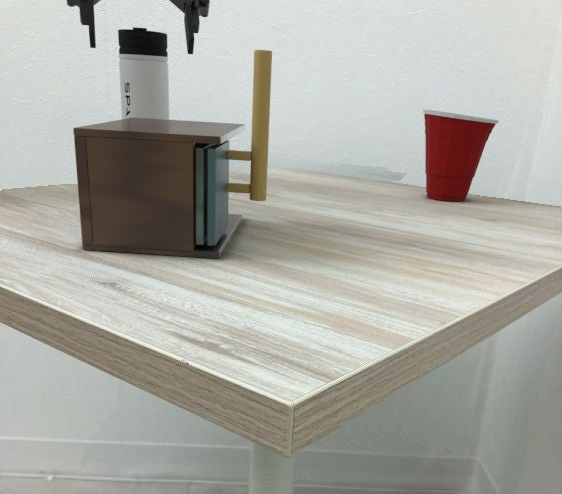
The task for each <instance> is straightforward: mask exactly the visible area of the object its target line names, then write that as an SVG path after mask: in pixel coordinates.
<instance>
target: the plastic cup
mask: <svg viewBox="0 0 562 494" xmlns="http://www.w3.org/2000/svg"><path fill="white" fill-rule="evenodd" d="M422 114H424V115H423V117H424V135H425V164H424V165H425V166H424V167H425V170H424V171H425V172H424V173H425V192H426V197H427V198H429V199H432V200H439V201H446V202H463V201H465V200H466V199H467V197H468V196H469V195H468V194H469V191H470V188H471V185H472V182H473V180H474V178H475V176H476V172H477V169H478V168H479V164H480V161H481V158H482V156H483V153H484V149H485V147H486V144H487V142H488V140H489V137H490V136H491V135H490V134H492V131H493V130H494V128H495V127H496V125H497V124H499V121H500V120H499V119H494V118H493V119H492V118H488V117H487V118H486V117H480V116H473V115H469V114H461V113H455V112H447V111H439V110H432V109H424V108H423V109H422Z"/></svg>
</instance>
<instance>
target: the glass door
mask: <svg viewBox="0 0 562 494" xmlns="http://www.w3.org/2000/svg"><path fill="white" fill-rule="evenodd" d="M272 64H273V50H268V49H254V50H253V77H252V107H251V110H252V111H251V112H252V113H251V143H250V151H249V150H235V149H230V140H229V139H228V140H227V141H225V142H223V143H221V144H215V145H213V146H211V147H209V148H208V201H207V245H209V246H215V245H216V243H217V242H218V240H219V239H220V238H221V236H222V235H223V233H224V232H225V230H226V229H227V227H228V214H229V200H230V199H229V196H230V195H229V194H230V193H234V194H249V200H250V201H253V202H265V201H266V200H267V192H268V191H267V188H268V167H269V166H268V164H269V163H268V162H269V138H270V137H269V136H270V116H271V115H270V113H271V93H272V92H271V90H272V67H273V65H272ZM230 161H242V162H243V161H245V162H250V173H249V174H250V176H249V177H250V178H249V179H250V180H249V181H250V182H249V183H240V182H239V183H238V182H230Z"/></svg>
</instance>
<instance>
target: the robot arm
mask: <svg viewBox="0 0 562 494" xmlns="http://www.w3.org/2000/svg"><path fill="white" fill-rule="evenodd" d="M100 1H101V0H66V5H67V6H68V7H71V8H72V7H73V8H74V7H78V9H79V20H80V21H79V22H80V24H81V26H88V36H89V48H90V49H96V48H97V42H96V25H95V22H96V21H95V7H94V6H96V5H97V4H98V3H99V2H100ZM168 1H169V2H170V3H171V4H173V5H174V7H176V8H177V9H179V11H181V12H182V13H183V14H184V18H183V22H184V31H185V41H186V42H185V43H186V51H187V52H186V53H187V55H194V47H195V34H199V31H200V24H201V23H200V22H201V21H200V17H202V18H208V16H209V11H210V4H211V3H210V2H211V1H210V0H168Z"/></svg>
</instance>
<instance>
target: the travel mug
mask: <svg viewBox="0 0 562 494" xmlns="http://www.w3.org/2000/svg"><path fill="white" fill-rule="evenodd" d="M117 37H118V46H119V49H118V58H119V61H118V66H119V67H118V69H119V85H120V87H119V88H120V90H119V91H120V106H121V107H120V108H121V120H122V119H127V118H148V119H165V120H170V89H169V87H170V85H169V63H168V61H169V56H168V33H166V32H161V31H154V30H148V29H147V27H135V26H133V27H132V28H131V29H130V28H129V29H128V28H125V29H124V28H122V29H118V30H117Z"/></svg>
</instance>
